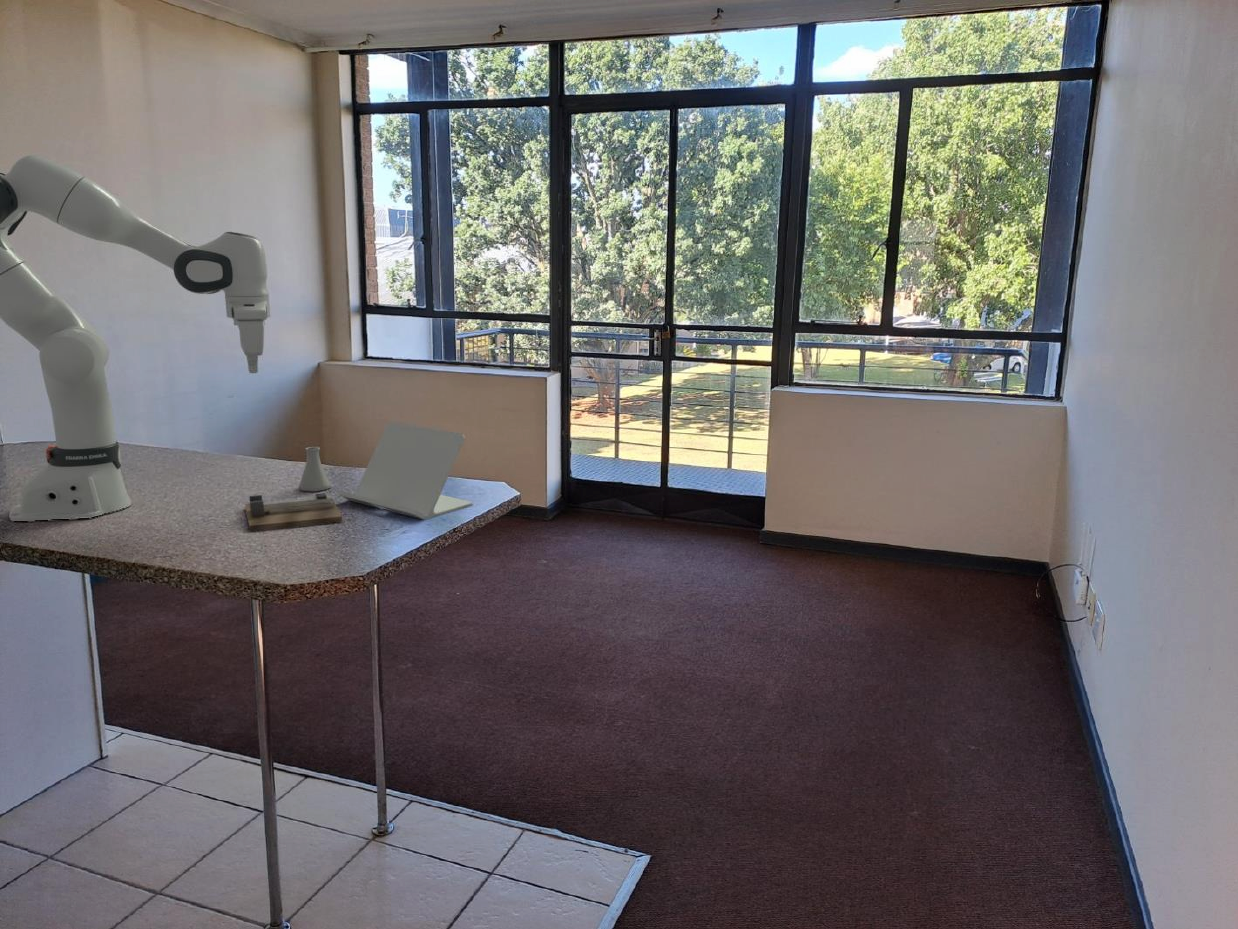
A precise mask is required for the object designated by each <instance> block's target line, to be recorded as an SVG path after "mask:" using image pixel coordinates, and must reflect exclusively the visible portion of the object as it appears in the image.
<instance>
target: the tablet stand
mask: <svg viewBox="0 0 1238 929" xmlns="http://www.w3.org/2000/svg"><path fill="white" fill-rule="evenodd" d="M465 439H466V436H465V435H464V434H462V433H459V432H454V431H448V430H442V429H436V428H429V427H424V426H418V425H411V424H407V423H403V422H401V423H400V422H395V421H389V422H387V423H386V426H385V428H384V431H382V435H381V437H380V439H379V441H378V442H377V445H376V447H375V449H374V451H373V453H372V456H371V458H370V459H369V462H368V464H367V467H366V469H365V470H364V473H363V475H362V477H361V480H359V481H360V482H359V484H358V485H357V488H356V490H355V492H354V493H349V492H346V491H340V493H339V497H341V498H344V499H346V500H348V501H351V502H354V501H355V502H354V503H359V504H361V503H362V505H365V504H366V506H369V505H370V507H373V506H374V508H377V509H381V508H382V509H381V510H385V509H386V510H385V511H389V512H392V511H393V513H396V514H397V513H398V514H401V515H405V516H407V517H412V518H417V519H421V520H424V521H425V520H428V519H431V518H435V517H438V516H442V515H446V514H449V513H451V512H456V511H459V510H462V509H465V508H468V507H471V506H473V504H474V503H473V502H472V501H470V500H464V499H461V498H456V497H452V496H448V495H444V494H442V491H443V490H444V487H445V486H446V483H447V480H448V477H449V476H450V473H451V471H452V469H453V467H454V464H455V462H456V459H457V458H458V455H459V454H460V451H461V449H462V446H463V444H464V442H465Z"/></svg>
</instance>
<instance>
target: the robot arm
mask: <svg viewBox="0 0 1238 929" xmlns="http://www.w3.org/2000/svg"><path fill="white" fill-rule="evenodd" d="M28 212H31V213H35V214H38V215H40V216H42V217H44V218H46V219H48V220H50V221H51V222H54V223H55V224H57V225H59V226H61V227H63V228H65V229H67V230H69V231H71V232H72V233H76V234H78V235H81V236H83V237H86V238H89V239H93V240H95V241H100V242H105V243H111V244H116V245H120V246H124V247H128V248H131V249H133V250H135V251H138V252H140V253H142V254H144V255H145V256H146V257H147V256H148V257H149V258H151V259H153V260H155V261H157V262H159V263H160V264H163V265H165V266H166V267H168V268H170V269H171V270H173V274H174V277H175V279H176V281H177V282H178V285H180V286H181V287H182V288H184V289H185V290H187V291H188V292H190V293H193V294H196V295H212V294H216V293H219V292H221V291H223V292H224V297H225V300H224V301H225V310H226V318H229V319H232V320H233V325H234V326H237V328H238V331H239V340H240V341H239V342H240V348H241V349H242V351H243V353H244V356H246V360H247V368H248V369H247V370H248V372H249V373H250V374H257V373H258V372H259V370H258V369H259V367H258V358H259V356H263V353H264V347H265V346H264V345H265V344H264V342H265V341H264V340H265V324H266V323H265V322H266V321H265V320H267V319H268V318H271V309H270V308H271V307H270V294H269V290H268V287H267V279H268V267H267V259H266V254H265V249H264V245H263V243H262V241H260V240H259V239H258V238H257V237H255V236H253V235H249V234H246V233H242V232H241V233H239V232H234V231H226V232H224V233H223V234H221V235H220V236H218V237H217V238H215V239H213V240H211V241H209V242H207V243H204V244H201V245H198V246H193V245H190V244H188V243H186V242H184V241H182V240H180V239H178V238H175V237H174V236H172V235H170V234H168V233H167V232H165V231H163V230H162V229H160V228H158V227H156V226H154V225H152V224H150V223H148V222H147V221H146V220H144V219H143V218H142V217H141V216H139V215H138V214H137V213H135V212H134V211H133V210H132V209H131V208H129V207H128V205H126V204H125V203H124V202H123V201H121V200H120V199H119V198H118V197H117V196H115V195H114V194H113V193H111V192H110V191H109V190H108V189H106V188H104V187H103V186H102V185H100V184H98V183H97V182H95V181H94V180H92V179H91V178H89V177H87V176H85V175H83V174H82V173H80V172H78V171H76V170H74V169H72V168H70V167H67V166H65V165H63V164H61V163H58V162H56V161H54V160H51V159H49V158H46V157H43V156H40V155H35V154H29V155H25V156H23V157H22V158H19V159H18V160H17V161H16V162H15V163H14V164H13V166H12V167H11V169H10V170H9V172H7V174H5V173H4V172H0V319H1V321H3V322H4V324H6V325H7V326H8V327H9V328H10V329H12V330H13V331H15V332H16V333H18V334H19V335H20V337H23V338H24V339H25V340H26V341H27V342H29V344H31V345H32V346H33V347H34V348H36V349H37V350H38V351H39V353H38V354H39V355H38V357H39V362H40V367H41V372H42V378H43V381H44V382H43V383H44V385H45V390H46V393H47V398H48V401H49V404H50V409H51V414H52V421H53V429H54V437H55V443H56V444H55V445H54V444H52V445H51V444H50V445H49V446H48V447H47V448H46V450H45V452H46V453H45V456H46V461H47V465H46V466H45V467H44V468H43V469H41V470H40V471H38V473H36V474H34V476H32V477H31V478H29V480H27V481H26V483H25V484H24V485H23V487H22V489H21V491H20V492H21V493H20V497H19V498H20V499H19V500H20V501H19V502H20V504H18V505H16V506H14V507H12V508H11V509H10V511H9V513H8V514H9V515H8V518H10V519H9V520H10V521H11V522H14V521H28V522H36V521H35V520H48V519H61V518H75V517H93V516H97V515H101V516H102V514H103V513H106V514H109V513H108V512H110V513H112V512H111V511H114V512H117V511H116V510H118V511H120V510H119V509H121V510H123V509H122V508H124V509H126V508H128V507H130V506H131V505H132V504H133V502H132V500H131V498H130V496H129V494H128V491H127V488H126V486H125V485H126V484H125V481H124V478H123V475H122V471H121V466H122V458H121V457H122V454H121V447H120V444H119V442H118V441H117V438H116V429H115V420H114V413H113V411H114V410H113V404H112V402H111V397H110V394H109V388H108V384H107V378H106V372H105V366H106V364H107V363H108V361H109V357H110V356H109V355H110V354H109V353H110V351H109V347H108V344H107V342H106V340H105V339H104V337H103V336H102V335H100V333H99V332H98V331H97V330H96V329H95V328H94V327H93V326H92V325H90V323H89V322H88V321H87V320H85V319H84V317H83V316H81V315H80V314H79V313H78V312H77V311H76V310H75V309H74V308H73V307H72V306H70V304H68V303H67V302H66V301H65V300H64V299H63V298H61V297H60V296H59V295H58V294H57V293H56V292H55V291H54V290H53V288H52V287H51V286H49V284H48V283H47V282H46V281H45V280H44V279H43V278H42V277H41V275H39V274H38V273H37V271H35V270H34V268H33V267H32V266H31V265H30V264H29V263H28V262H27V261H26V260H25V259H24V258H23V257H22V255H20V254H19V252H18V251H16V249H15V248H14V247H13V245H12V244H11V242H10V241H9V238H8V236H11V235H13V233H14V232H15V231H16V229H17V228H18V226H19V225H20V224H21V222H23V220H24V218H25V217H26V215H27V214H28ZM103 515H104V514H103ZM48 521H49V520H48Z"/></svg>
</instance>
